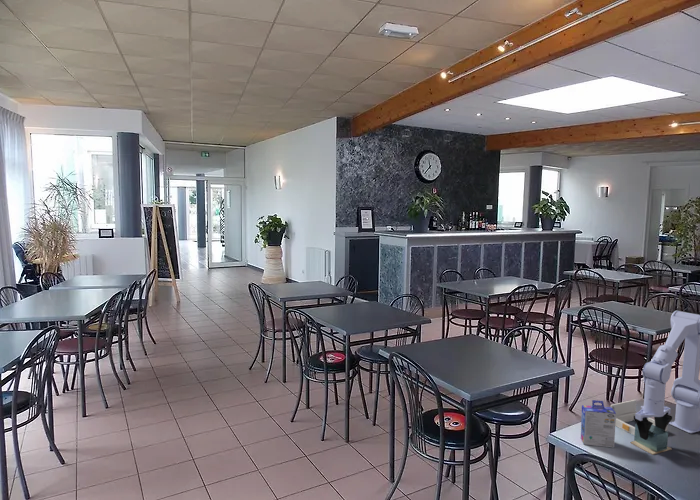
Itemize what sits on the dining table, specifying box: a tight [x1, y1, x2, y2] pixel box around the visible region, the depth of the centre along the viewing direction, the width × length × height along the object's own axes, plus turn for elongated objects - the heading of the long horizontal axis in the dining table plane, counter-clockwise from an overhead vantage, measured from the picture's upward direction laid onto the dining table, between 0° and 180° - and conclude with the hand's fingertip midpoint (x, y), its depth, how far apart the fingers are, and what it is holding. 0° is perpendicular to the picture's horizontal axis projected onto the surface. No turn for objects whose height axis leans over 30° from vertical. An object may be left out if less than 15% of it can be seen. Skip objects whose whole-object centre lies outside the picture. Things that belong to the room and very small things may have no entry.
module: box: [633, 423, 669, 452], centre depth 159 cm, size 5×8×6 cm, turn 21°
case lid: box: [609, 399, 638, 416], centre depth 177 cm, size 13×2×7 cm, turn 111°
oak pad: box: [630, 440, 673, 455], centre depth 159 cm, size 9×8×1 cm
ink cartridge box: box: [580, 399, 616, 448], centre depth 161 cm, size 10×6×14 cm, turn 78°
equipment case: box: [615, 411, 668, 436], centre depth 172 cm, size 13×12×2 cm
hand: (651, 436), depth 159 cm, fingers open, 7 cm apart
